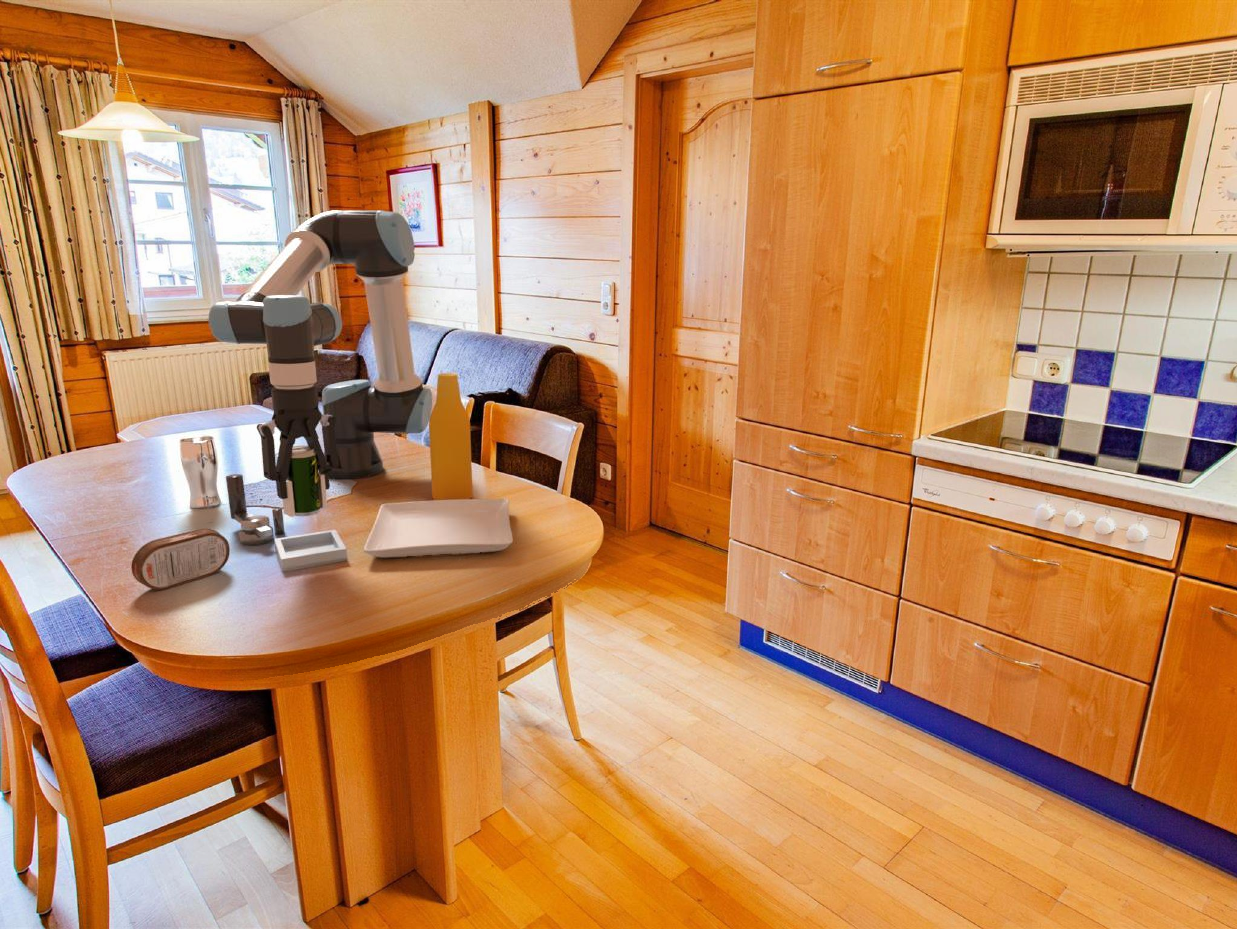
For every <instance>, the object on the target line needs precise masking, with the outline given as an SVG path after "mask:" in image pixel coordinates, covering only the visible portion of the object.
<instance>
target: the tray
mask: <svg viewBox="0 0 1237 929" xmlns="http://www.w3.org/2000/svg"><path fill="white" fill-rule="evenodd" d="M273 540H274V542H273V543H274V548H275V549H274V550H275V553H276V556H277V557H276V558H277V560H278V562H279V565H280V568H281V571H282V572H283V573H285V572H289V571H296V570H300V569H306V568H308V569H309V568H312V567H313V568H314V567H319V566H325V565H330V564H336V563H340V562H341V563H342V562H347V561H348V555H347V554H348V553H347V548H346V545H345V544H344V542H343V540H342V539H341V537H340V535H339V533H338V532H337V530H336V529H331V530H330V529H329V530H322V531H317V532H311V533H305V534H297V535H291V536H285V537H278V538H274V539H273Z"/></svg>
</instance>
